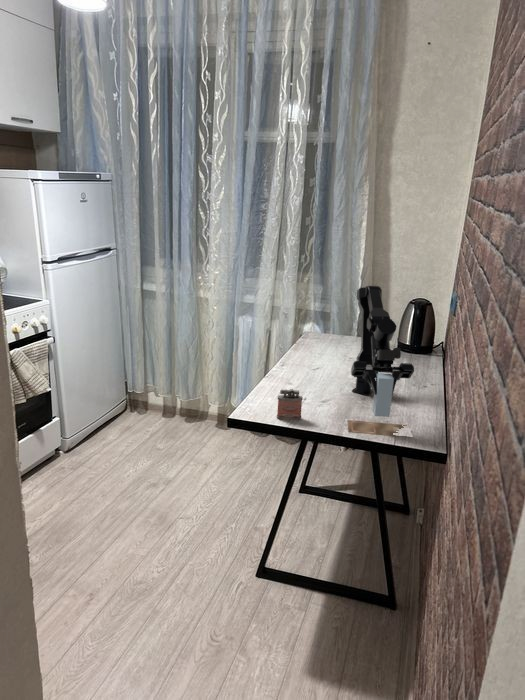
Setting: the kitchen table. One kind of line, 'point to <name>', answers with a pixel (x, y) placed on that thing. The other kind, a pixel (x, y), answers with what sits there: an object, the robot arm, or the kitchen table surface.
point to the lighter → (289, 405)
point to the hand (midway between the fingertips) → (383, 394)
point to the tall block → (383, 395)
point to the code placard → (373, 427)
